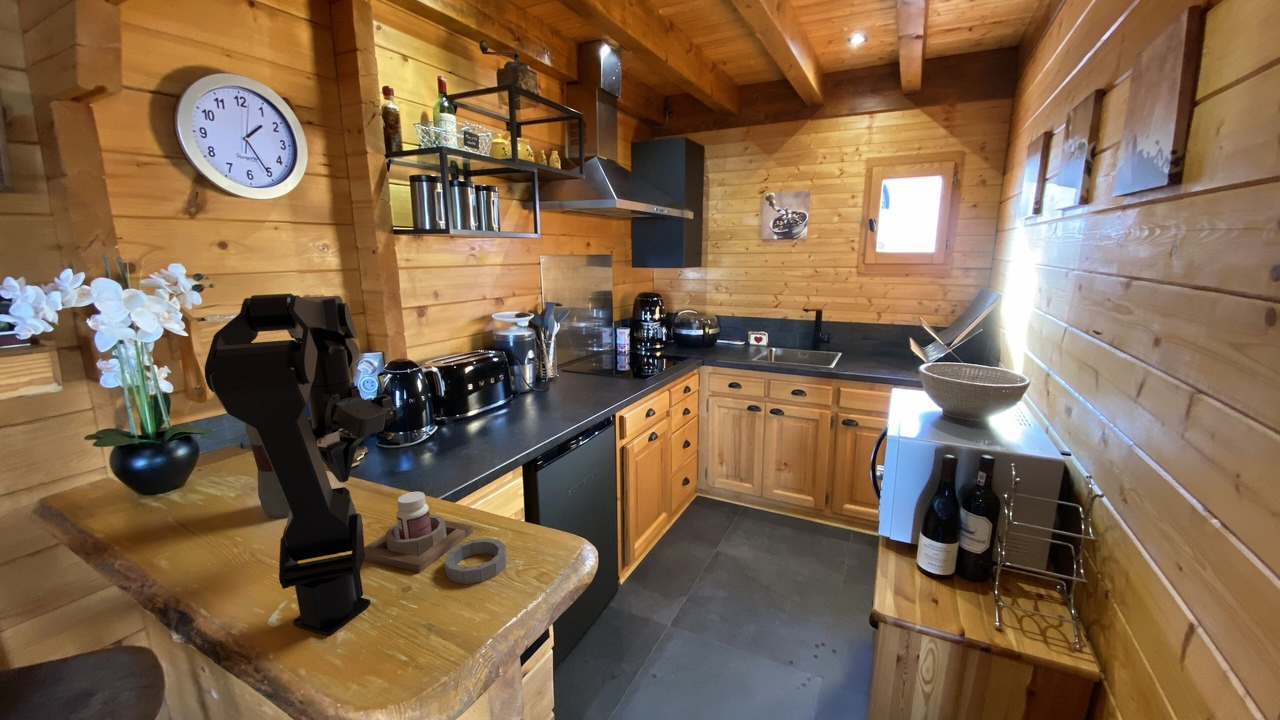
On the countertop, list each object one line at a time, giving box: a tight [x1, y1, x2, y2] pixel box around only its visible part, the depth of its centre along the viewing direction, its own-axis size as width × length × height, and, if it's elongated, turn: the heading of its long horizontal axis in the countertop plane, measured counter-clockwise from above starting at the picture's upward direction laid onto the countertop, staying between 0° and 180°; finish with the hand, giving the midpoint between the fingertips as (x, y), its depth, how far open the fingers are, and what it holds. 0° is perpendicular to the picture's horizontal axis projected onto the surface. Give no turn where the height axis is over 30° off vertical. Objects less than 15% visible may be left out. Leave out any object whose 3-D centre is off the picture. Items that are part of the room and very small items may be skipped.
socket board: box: [363, 513, 474, 573], centre depth 84 cm, size 12×12×3 cm
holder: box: [443, 537, 508, 585], centre depth 78 cm, size 8×8×2 cm
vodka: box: [245, 423, 290, 519], centre depth 96 cm, size 9×9×30 cm
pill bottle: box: [396, 491, 432, 540], centre depth 84 cm, size 5×5×8 cm
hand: (343, 481), depth 80 cm, fingers closed
